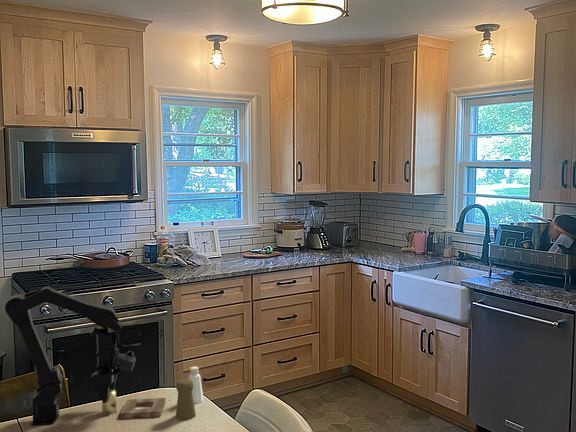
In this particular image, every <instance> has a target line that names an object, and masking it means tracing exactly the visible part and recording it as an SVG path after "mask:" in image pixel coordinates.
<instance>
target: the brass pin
mask: <svg viewBox="0 0 576 432" xmlns="http://www.w3.org/2000/svg"><path fill="white" fill-rule="evenodd" d="M117 404H118V403H117V390H116V389H115V388H114V389H109V392H108V399H107V403H103V401H102V400H101V414H102V415H103V414H104V416H110V415H109V414H112V415H114V414H113V413H115V412H116V413H117V412H118V410H117V409H118V408H117V406H118V405H117ZM116 413H115V414H116Z"/></svg>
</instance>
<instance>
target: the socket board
mask: <svg viewBox="0 0 576 432" xmlns="http://www.w3.org/2000/svg"><path fill="white" fill-rule="evenodd" d="M165 405H166V397H156V398H152V397H151V398H137V399H135V398H134V399H127V400H126V401H125V404H124V405H123V407H122V409H121V412H120V419H121V418H122V419H136V418H135V417H142V418H157V417H159V418H160V416H161V417H162V415H163V411H164V409H163V408H165Z"/></svg>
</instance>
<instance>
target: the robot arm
mask: <svg viewBox="0 0 576 432" xmlns="http://www.w3.org/2000/svg"><path fill="white" fill-rule="evenodd" d="M45 303H49V304H51V305H54V306H57V307H59V308H61V309H65V310H67V311H69V312H73V313H75V314H77V315H81V316H83V317H85V318H86V319H88V320H89V321H90V322H92V324H95V325H94V327H93V329H91V330H90V332H89V333H90V334H89V335H90V336H96V350H97V351H96V352H95V357H97V365H96V366H95V372H94V373H92V375H91V376H90V379H89V383H90V385H91V386H92V387H93V388H94V390H95V391H96V393H97V394H98V396H99V398H100V399H101V402H102V401H103V403H107V399H108V392H109V389H114V390H115V387H116V386H115V385H116V381H117V375H118V374H119V373H120V371H121V370H123V371H126V372H128V373H129V372H132V371H133V369H134V367H135V363H136V360H137V358H136V356H135V353H134V351H132V350H128V351H127V352H126V353H121V352H120V349H119V348H118V347H117V340H118V344H120V345H122V347H125V346H126V347H128V346H139V345H142V334H141V328H140V325H141V324H140V322H133V323H125V324H122V322H121V320H120V319H119V318H118V317H117V316H116V312H115V309H114V308H113V307H112V306H110V305H107V304H102V303H101V304H100V303H92V302H87V301H85V300H82V299H80V298H77V297H74V296H71V295H70V294H68V293H64V292H61V291H59V290H57V289H54V288H52V287H50V286H44V287H42V288H40V289H38V290H34V291H31V292H28V293H25V294H22V293H18V294H14V295H12V296H11V297H10V298H9V299H8V301H7V302H6V304H5V306H4V310H5V312H6V315H7V316H8V317H9V319H10V321H11V322H12V323H14V325H15V326H16V327H17V328H18V330H19V332H20V335H21V337H22V340H23V342H24V344H25V347H26V349H27V352H28V354H29V356H30V358H31V361H32V363H33V366H34V368H35V371H36V375H37V383H38V387H37V388H36V389H35V391H34V394H33V398H32V401H31V402H32V404H31V407H32V409H31V410H32V420H31V422H30V425H31V426H36V425H37V426H39V425H40V426H41V425H53V424H55V422H56V421H57V419H58V418H59V416H60V403H59V402H58V398H57V396H58V395H59V393H60V392H61V389H62V384H63V379H64V375H63V374H62V372H61V371H60V367H59V365H58V364H57V365H56V366H53V365H52V364H51V362H50V360H49V357H48V354H47V353H46V350H45V347H44V345H43V343H42V340H41V339H40V336H39V334H38V331H37V329H36V326H35V324H34V322H33V315H32V309H34V308H36V307H38V306H40V305H43V304H45ZM117 335H118V337H117ZM117 338H118V339H117Z"/></svg>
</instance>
